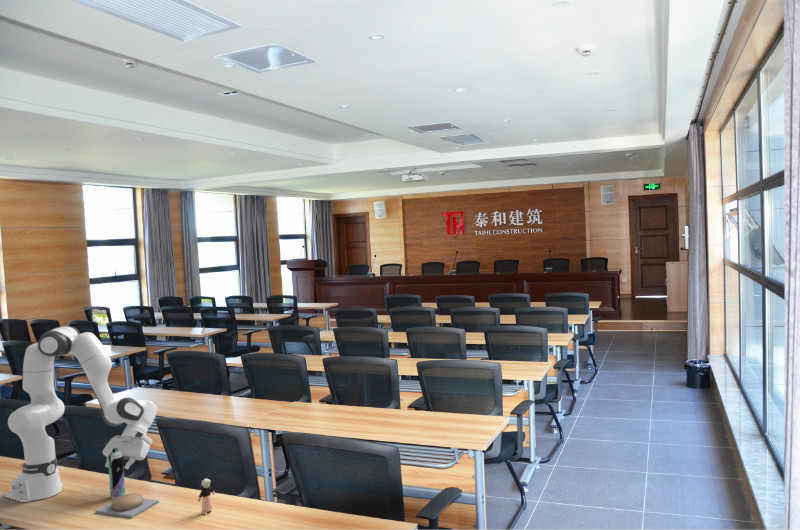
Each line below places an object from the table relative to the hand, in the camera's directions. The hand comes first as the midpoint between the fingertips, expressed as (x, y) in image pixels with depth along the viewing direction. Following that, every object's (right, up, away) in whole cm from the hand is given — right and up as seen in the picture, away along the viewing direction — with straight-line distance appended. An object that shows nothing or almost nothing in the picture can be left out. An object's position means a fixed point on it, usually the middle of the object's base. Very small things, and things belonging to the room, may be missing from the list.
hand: (116, 467), depth 246 cm
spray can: (+1, -12, 0) cm, 12 cm away
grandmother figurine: (+44, -11, -19) cm, 49 cm away
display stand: (+10, -12, -12) cm, 19 cm away
